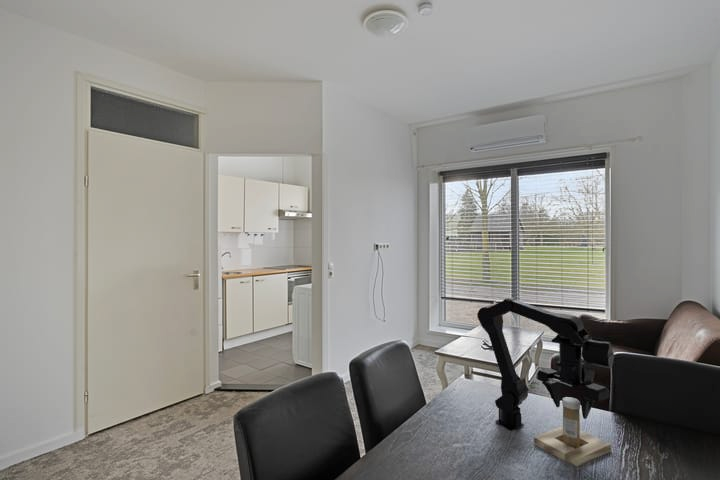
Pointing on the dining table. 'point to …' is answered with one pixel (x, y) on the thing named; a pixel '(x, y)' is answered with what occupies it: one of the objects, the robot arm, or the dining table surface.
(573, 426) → the sprinkles bottle
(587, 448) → the socket block
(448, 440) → the dining table surface
